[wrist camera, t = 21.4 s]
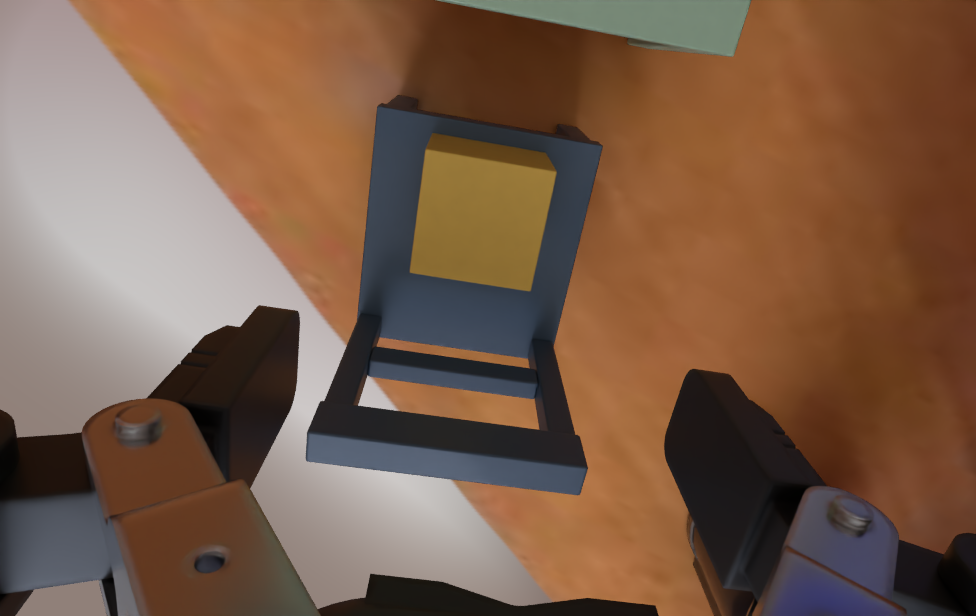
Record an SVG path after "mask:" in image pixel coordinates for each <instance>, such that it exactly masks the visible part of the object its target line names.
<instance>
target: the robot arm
mask: <svg viewBox="0 0 976 616" xmlns="http://www.w3.org/2000/svg"><path fill="white" fill-rule="evenodd" d="M299 328H300V317H299V313H298V311H295V310H288V309H281V308H273V307H267V306H260V305H259V306H258V307H257V308H256V309H255V310H254V311H253V312H252V314H251V315H250V316H249V317H248V319H247V320H246V321H245V322H244V323H243V324H242V326H241V327H235V326H228V325H227V326H225V327H222V328H220V329H218V330H216V331H214V332H212V333H210V334H208V335H205V336H204V337H203V338H202V339H201V340H200V341H199V343H198V344H197V345H196V346H195V347H194V348H193V349H192V352H191V353H188V354H187V355H186V357H185V358H184V359H183V360H182V361H181V364H178V365H177V366H176V367H175V368H174V369H173V370H172V372H171V373H170V374H169V375H168V376H167V377H166V378H165V379H164V380H163V381H162V382H161V383H160V384H159V386H158V387H157V388H156V389H155V390H154V391H153V392H152V393H151V394H150V395H149V396H148V397H147V398H146V399H136V400H129V401H125V402H121V403H118V404H115V405H112V406H109V407H107V408H105V409H103V410H101V411H100V412H98V413H96V414H95V415H93V416H92V417H91V418H90V419H89V420H88V421H87V422H86V423H85V425H84V427H83V429H82V432H81V433H74V434H64V435H48V436H34V437H19V438H17V436H16V430H15V424H14V420H13V419H12V417H11V416H10V415H9V414H8V413H6V412H4V411H2V410H0V616H15V615H16V614H17V613H18V611H19V610H20V609H21V607H22V606H23V604H24V603H25V602H26V600H27V599H28V598H29V596H30V595H31V593H32V592H33V590H34V589H40V588H46V587H53V586H60V585H67V584H74V583H80V582H87V581H93V580H99V585H100V589H101V593H102V597H103V601H104V605H105V609H106V614H107V616H658V613H657V609H656V606H654V605H645V604H636V603H627V602H618V601H609V600H600V599H591V598H584V599H576V600H568V601H560V602H552V603H544V604H537V605H528V606H514V605H510V604H507V603H503V602H501V601H498V600H495V599H491V598H489V597H486V596H483V595H480V594H477V593H474V592H471V591H468V590H465V589H462V588H459V587H456V586H453V585H450V584H447V583H444V582H439V581H429V580H421V579H412V578H403V577H394V576H385V575H375V574H370V578H369V584H368V588H367V594H366V598H360V599H352V600H348V601H344V602H339V603H335V604H331V605H329V606H326V607H323V608H320V609H317V608H316V606H315V604H314V602H313V600H312V599H311V597H310V595H309V593H308V592H307V590H306V588H305V586H304V584H303V583H302V581H301V579H300V577H299V575H298V574H297V572H296V570H295V568H294V567H293V565H292V563H291V561H290V559H289V558H288V556H287V554H286V552H285V550H284V549H283V547H282V545H281V543H280V541H279V540H278V538H277V536H276V534H275V533H274V531H273V529H272V527H271V525H270V524H269V522H268V520H267V518H266V516H265V515H264V513H263V511H262V509H261V507H260V506H259V504H258V502H257V500H256V499H255V497H254V495H253V493H252V491H251V490H250V488H251V486H252V484H253V482H254V480H255V478H256V476H257V474H258V472H259V470H260V468H261V466H262V464H263V462H264V460H265V458H266V456H267V454H268V452H269V451H270V449H271V446H272V445H273V443H274V441H275V439H276V436H277V435H278V433H279V431H280V429H281V427H282V425H283V423H284V421H285V419H286V417H287V415H288V413H289V411H290V409H291V406H292V403H293V400H294V395H295V391H296V384H297V369H298V349H299V347H298V346H299ZM664 450H665V457H666V461H667V463H668V466H669V468H670V470H671V472H672V475H673V477H674V479H675V481H676V484H677V486H678V488H679V490H680V493H681V495H682V497H683V499H684V501H685V504H686V506H687V508H688V510H689V513H690V515H689V518H688V523H687V536H688V540H689V543H690V546H691V548H692V550H693V553H694V555H695V560H694V562H693V566H694V568H695V570H696V573H697V575H698V578H699V580H700V583H701V585H702V588H703V590H704V592H705V595H706V597H707V600H708V602H709V605H710V607H711V610H712V612H713V614H714V616H976V534H972V533H962V534H959V535H957V536H956V537H955V538H954V539H953V541H952V543H951V544H950V546H949V547H948V549H947V551H946V552H945V554H944V555H943V554H940V553H937V552H934V551H931V550H928V549H925V548H923V547H920V546H917V545H914V544H911V543H908V542H905V541H902V540H899V535H898V532H897V529H896V528H895V526H894V524H893V523H892V522H891V521H890V520H889V518H888V517H887V516H886V515H884V514H883V513H882V512H881V511H880V510H879V509H877V508H876V507H875V506H873V505H872V504H870V503H869V502H867V501H865V500H864V499H862V498H860V497H858V496H856V495H854V494H852V493H849V492H847V491H844V490H841V489H838V488H834V487H828V486H827V485H826V484H825V483H824V481H823V480H822V479H821V478H820V476H819V475H818V474H817V473H816V471H815V470H814V469H813V467H812V466H811V465H810V464H809V462H808V461H807V460H806V459H805V457H804V456H803V455H802V453H801V452H800V451H799V450H798V449H795V444H794V443H793V442H792V441H791V439H790V438H789V437H788V436H787V435H785V432H784V430H783V429H782V428H781V427H780V425H779V424H778V423H777V421H776V420H775V419H774V418H773V416H772V415H770V414H769V413H768V412H766V411H765V410H764V409H762V408H761V407H760V406H758V405H757V404H756V403H754V402H753V401H752V400H749V399H748V398H747V396H746V395H745V394H744V392H743V391H742V390H741V388H740V387H739V386H738V384H737V383H736V382H735V380H734V379H733V378H732V377H731V375H729V374H725V373H718V372H711V371H705V370H698V369H692V370H690V371H689V372H688V373H687V375H686V376H685V379H684V381H683V384H682V387H681V390H680V393H679V396H678V399H677V402H676V404H675V407H674V410H673V413H672V416H671V419H670V422H669V425H668V428H667V431H666V435H665V443H664Z"/></svg>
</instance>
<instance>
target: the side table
mask: <svg viewBox="0 0 976 616" xmlns="http://www.w3.org/2000/svg"><path fill="white" fill-rule="evenodd" d="M437 1H442V2H447V3H452V4H457V5H462V6H468V7H473V8H478V9H483V10H488V11H493V12H498V13H504V14H509V15H514V16H519V17H524V18H529V19H534V20H540V21H545V22H550V23H555V24H560V25H565V26H571V27H576V28H581V29H586V30H591V31H596V32H601V33H607V34H612V35H617V36H622V37H627V38H628V41H627V44H628V45H632V46H637V47H643V48H648V49H656V50H667V51H677V52H688V53H698V54H708V55H720V56H729V57H732V56H734V54H735V50H736V47H737V44H738V41H739V38H740V34H741V31H742V28H743V25H744V22H745V19H746V15H747V12H748V9H749V6H750V3H751V0H437Z"/></svg>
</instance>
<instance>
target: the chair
mask: <svg viewBox="0 0 976 616" xmlns="http://www.w3.org/2000/svg"><path fill="white" fill-rule="evenodd" d="M417 103H418V99H417V98H411V97H406V96H400V95H397V96H396V97H395V98H394V99H392V100H391V101H390V102H389V103H388V104H383V103H381V104H380V105H379V106H378V107H377V116H376V126H375V137H374V147H373V158H372V168H371V179H370V189H369V200H368V210H367V221H366V232H365V242H364V253H363V263H362V274H361V284H360V295H359V305H358V316H357V323H356V325H355V328H354V330H353V332H352V335H351V337H350V340H349V342H348V345H347V347H346V350H345V352H344V355H343V357H342V360H341V362H340V364H339V367H338V369H337V372H336V374H335V376H334V379H333V381H332V384H331V386H330V389H329V391H328V394H327V396H326V399H325V401H321V402H320V403H319V406H318V408H317V410H316V413H315V415H314V418H313V420H312V422H311V425H310V427H309V429H308V432H307V446H306V461H309V462H316V463H325V464H333V465H340V466H348V467H356V468H365V469H373V470H380V471H388V472H396V473H404V474H412V475H421V476H428V477H436V478H444V479H452V480H460V481H468V482H476V483H484V484H492V485H500V486H508V487H516V488H524V489H532V490H540V491H548V492H557V493H565V494H573V495H579V494H580V493H581V489H582V486H583V483H584V479H585V476H586V473H587V469H588V467H587V463H586V459H585V455H584V451H583V447H582V443H581V440H580V436H578V435H575V432H574V428H573V424H572V420H571V415H570V411H569V407H568V403H567V399H566V395H565V391H564V387H563V383H562V379H561V375H560V371H559V367H558V363H557V359H556V355H555V351H554V342H555V338H556V334H557V330H558V326H559V322H560V318H561V314H562V310H563V306H564V302H565V298H566V294H567V290H568V286H569V281H570V277H571V273H572V269H573V265H574V261H575V257H576V253H577V249H578V245H579V241H580V237H581V233H582V229H583V225H584V221H585V216H586V212H587V208H588V204H589V200H590V196H591V192H592V188H593V184H594V180H595V176H596V172H597V168H598V164H599V160H600V156H601V151H602V147H603V146H602V145H601V144H600V143H599V142H597V141H591V140H590V139H589V138H588V137H587V136H586V135H585V134H584V133H583V132H582V131H580V130H579V129H578V128H577V127H573V126H567V125H562V124H558V126H557V131H556V134H552V133H546V132H540V131H535V130H529V129H523V128H518V127H512V126H507V125H501V124H495V123H490V122H484V121H478V120H473V119H467V118H462V117H456V116H450V115H445V114H439V113H433V112H428V111H422V110H417ZM432 133H436V134H442V135H448V136H453V137H459V138H465V139H470V140H476V141H482V142H487V143H493V144H499V145H504V146H510V147H516V148H521V149H527V150H533V151H538V152H544V153H546V154H547V156H548V157H549V159H550V161H551V163H552V164H553V166H554V168H555V169H556V171H557V175H556V179H555V184H554V188H553V193H552V197H551V202H550V206H549V211H548V215H547V220H546V225H545V229H544V234H543V238H542V243H541V247H540V252H539V256H538V261H537V265H536V270H535V274H534V279H533V283H532V288H531V291H524V290H517V289H511V288H504V287H498V286H491V285H485V284H478V283H472V282H466V281H459V280H453V279H446V278H440V277H433V276H427V275H420V274H414V273H410V263H411V256H412V248H413V240H414V233H415V225H416V217H417V210H418V202H419V194H420V187H421V179H422V171H423V164H424V156H425V150H426V147H427V145H428V142H429V140H430V138H431V135H432ZM379 337H382V338H389V339H396V340H403V341H410V342H417V343H423V344H430V345H437V346H444V347H451V348H458V349H465V350H472V351H479V352H486V353H493V354H500V355H507V356H514V357H521V358H528V361H529V367H530V369H529V368H522V367H515V366H508V365H501V364H494V363H487V362H480V361H473V360H466V359H459V358H452V357H445V356H438V355H431V354H424V353H417V352H410V351H403V350H396V349H389V348H382V347H376V346H377V343H378V340H379ZM367 375H368V376H370V377H376V378H384V379H391V380H398V381H405V382H413V383H420V384H427V385H434V386H442V387H449V388H456V389H463V390H471V391H478V392H485V393H492V394H500V395H507V396H514V397H521V398H529V399H534V398H535V404H536V410H537V416H538V423H539V429H540V430H536V429H528V428H521V427H513V426H506V425H498V424H491V423H483V422H476V421H468V420H461V419H453V418H446V417H439V416H431V415H424V414H416V413H409V412H401V411H393V410H386V409H378V408H371V407H363V406H358V403H359V400H360V397H361V394H362V391H363V388H364V384H365V381H366V378H367Z"/></svg>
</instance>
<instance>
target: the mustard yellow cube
mask: <svg viewBox="0 0 976 616" xmlns="http://www.w3.org/2000/svg"><path fill="white" fill-rule="evenodd" d="M556 175H557V171H556V169H555V168H554V166H553V164H552V163H551V161H550V159H549V157H548V156H547V154H546V153H544V152H538V151H533V150H527V149H521V148H516V147H510V146H504V145H499V144H493V143H487V142H482V141H476V140H470V139H465V138H459V137H453V136H448V135H442V134H436V133H432V135H431V138H430V140H429V142H428V145H427V147H426V150H425V156H424V164H423V171H422V179H421V187H420V194H419V202H418V210H417V217H416V225H415V233H414V240H413V248H412V256H411V263H410V273H414V274H420V275H427V276H433V277H440V278H446V279H453V280H459V281H466V282H472V283H478V284H485V285H491V286H498V287H504V288H511V289H517V290H524V291H531V288H532V283H533V279H534V274H535V270H536V265H537V261H538V256H539V252H540V247H541V243H542V238H543V234H544V229H545V225H546V220H547V215H548V211H549V206H550V202H551V197H552V193H553V188H554V184H555V179H556Z"/></svg>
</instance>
